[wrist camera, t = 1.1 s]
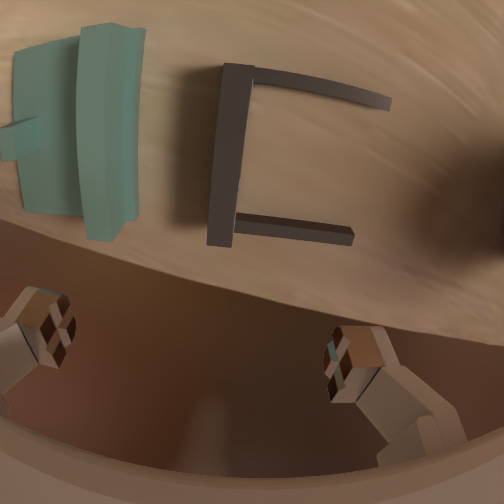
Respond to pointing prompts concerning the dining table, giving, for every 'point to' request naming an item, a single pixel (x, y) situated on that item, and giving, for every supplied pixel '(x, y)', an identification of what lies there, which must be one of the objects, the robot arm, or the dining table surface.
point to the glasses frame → (231, 150)
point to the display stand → (79, 127)
